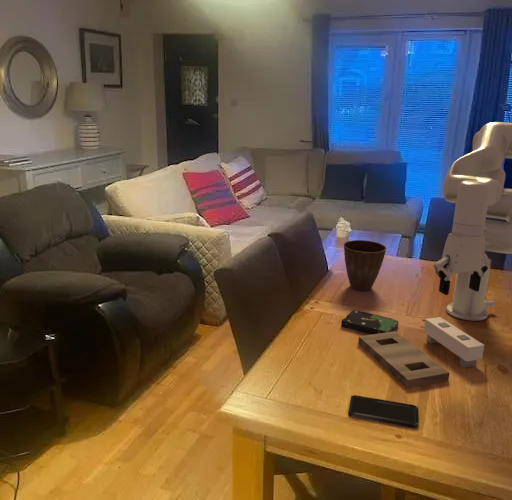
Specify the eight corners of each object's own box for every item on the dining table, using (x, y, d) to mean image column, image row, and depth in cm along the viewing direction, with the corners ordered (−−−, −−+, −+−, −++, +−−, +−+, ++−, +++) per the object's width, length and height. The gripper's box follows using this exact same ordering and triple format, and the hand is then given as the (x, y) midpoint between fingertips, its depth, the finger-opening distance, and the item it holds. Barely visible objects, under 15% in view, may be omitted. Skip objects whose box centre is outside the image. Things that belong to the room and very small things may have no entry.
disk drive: (340, 329, 157) (388, 340, 150) (340, 320, 156) (389, 331, 149) (352, 317, 166) (398, 327, 158) (352, 309, 165) (399, 319, 158)
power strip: (437, 337, 152) (440, 316, 150) (480, 367, 135) (484, 344, 133) (422, 339, 150) (425, 318, 148) (464, 370, 134) (468, 346, 132)
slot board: (358, 343, 147) (358, 336, 146) (394, 338, 150) (395, 331, 150) (407, 387, 125) (408, 379, 124) (448, 380, 129) (449, 372, 128)
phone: (418, 426, 110) (347, 413, 113) (418, 430, 110) (347, 417, 114) (418, 405, 117) (351, 394, 121) (417, 409, 117) (351, 398, 121)
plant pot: (387, 285, 191) (392, 244, 187) (373, 298, 179) (377, 254, 175) (350, 277, 199) (353, 237, 194) (334, 289, 187) (337, 247, 182)
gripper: (484, 224, 138) (475, 283, 143) (430, 227, 133) (422, 289, 138) (505, 231, 132) (495, 293, 137) (449, 235, 126) (440, 299, 131)
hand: (458, 291), depth 137 cm, fingers open, 9 cm apart
